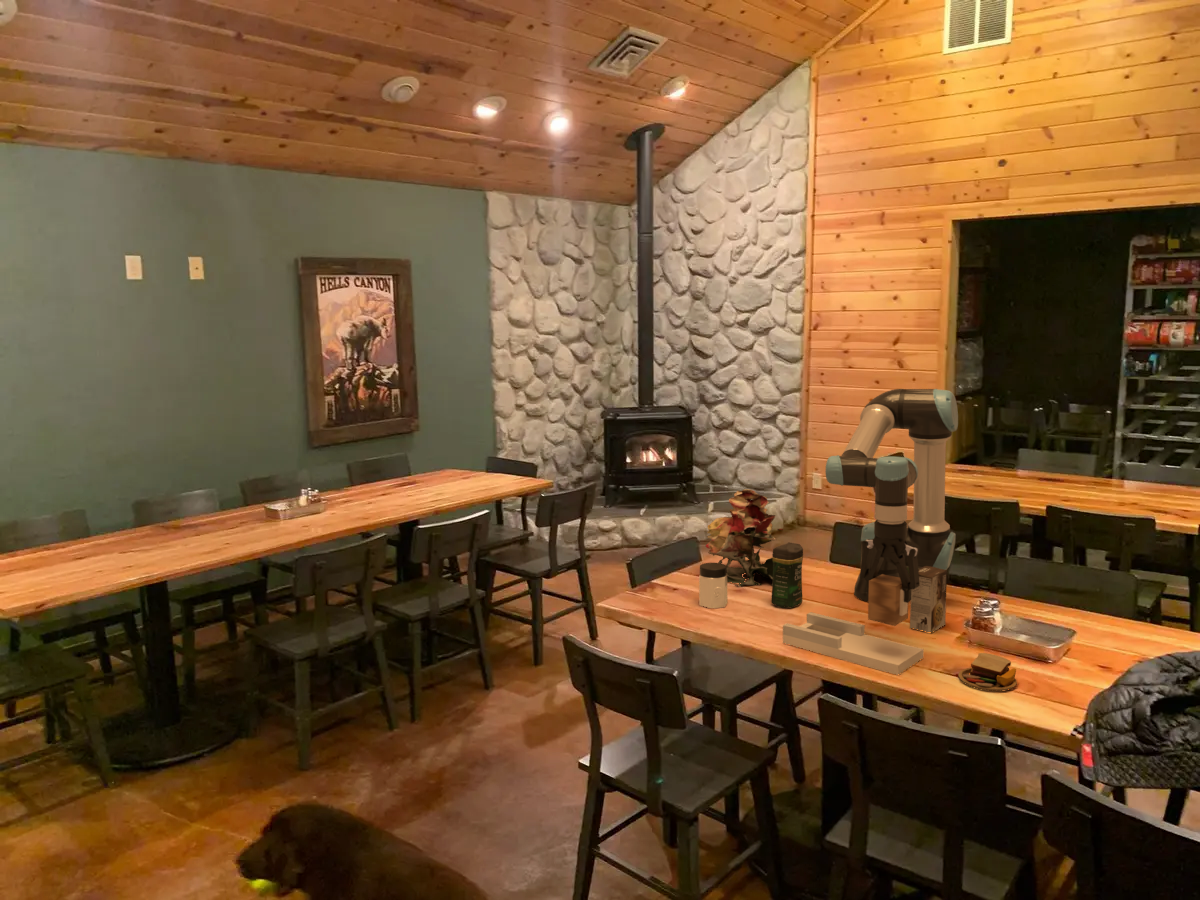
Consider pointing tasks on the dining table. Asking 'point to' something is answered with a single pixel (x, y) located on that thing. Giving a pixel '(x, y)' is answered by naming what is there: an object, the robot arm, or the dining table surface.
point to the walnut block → (885, 600)
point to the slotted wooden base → (850, 644)
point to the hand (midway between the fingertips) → (888, 610)
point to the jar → (713, 585)
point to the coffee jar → (787, 575)
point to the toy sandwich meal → (989, 673)
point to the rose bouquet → (743, 537)
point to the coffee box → (929, 600)
